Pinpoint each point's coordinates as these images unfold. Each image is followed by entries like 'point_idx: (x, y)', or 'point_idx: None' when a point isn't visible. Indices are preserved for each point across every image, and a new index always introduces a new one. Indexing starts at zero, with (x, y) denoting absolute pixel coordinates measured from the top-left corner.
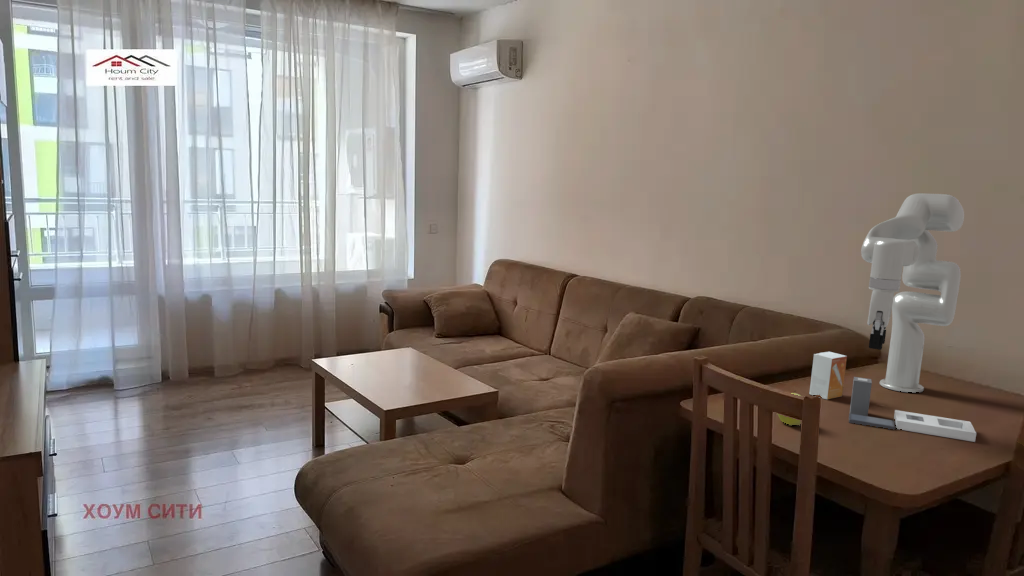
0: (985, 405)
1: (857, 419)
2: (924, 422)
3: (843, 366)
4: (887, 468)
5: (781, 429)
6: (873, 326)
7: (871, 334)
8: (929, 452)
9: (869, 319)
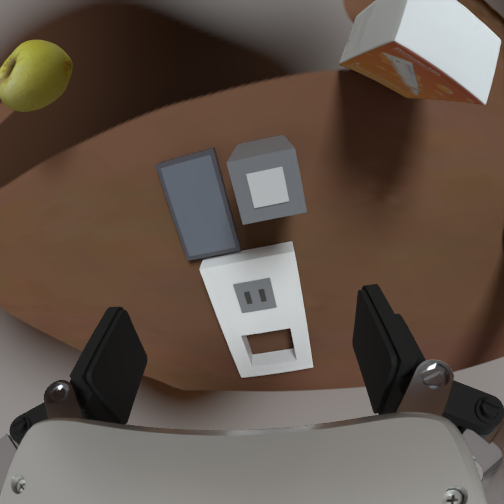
0: (474, 342)
1: (171, 180)
2: (235, 314)
3: (447, 93)
4: (14, 275)
5: None
6: (14, 431)
7: (75, 378)
8: None
9: (14, 464)
